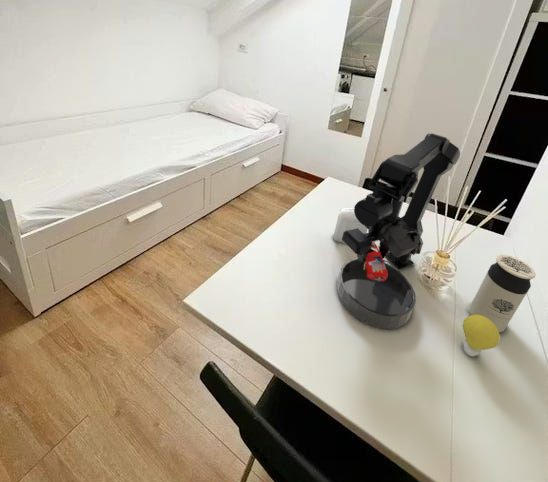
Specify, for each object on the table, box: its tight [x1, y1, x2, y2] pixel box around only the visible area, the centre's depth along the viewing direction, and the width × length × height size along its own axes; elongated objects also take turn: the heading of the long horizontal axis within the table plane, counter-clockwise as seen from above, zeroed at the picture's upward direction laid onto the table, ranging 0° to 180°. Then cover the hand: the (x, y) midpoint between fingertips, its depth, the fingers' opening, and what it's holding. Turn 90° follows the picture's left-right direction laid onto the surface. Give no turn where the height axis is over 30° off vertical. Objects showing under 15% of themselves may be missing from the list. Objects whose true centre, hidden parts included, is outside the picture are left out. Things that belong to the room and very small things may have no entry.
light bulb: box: [462, 314, 501, 357], centre depth 65 cm, size 7×7×10 cm
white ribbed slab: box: [332, 207, 368, 244], centre depth 97 cm, size 10×4×12 cm, turn 84°
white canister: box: [468, 254, 536, 333], centre depth 72 cm, size 8×8×18 cm
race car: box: [363, 242, 388, 282], centre depth 75 cm, size 13×5×4 cm, turn 177°
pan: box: [336, 257, 417, 330], centre depth 78 cm, size 19×19×4 cm
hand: (371, 261), depth 75 cm, fingers closed on race car, 6 cm apart
